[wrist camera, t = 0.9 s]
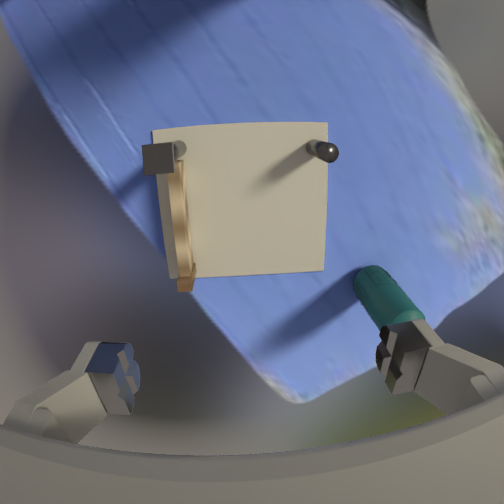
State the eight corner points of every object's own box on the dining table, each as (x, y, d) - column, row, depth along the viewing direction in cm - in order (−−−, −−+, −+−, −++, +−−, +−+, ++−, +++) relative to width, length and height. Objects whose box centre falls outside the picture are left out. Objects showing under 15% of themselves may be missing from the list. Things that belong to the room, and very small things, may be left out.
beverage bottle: (342, 288, 53) (387, 367, 35) (360, 254, 51) (417, 324, 32) (372, 297, 54) (422, 373, 36) (390, 266, 52) (450, 334, 33)
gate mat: (153, 130, 41) (152, 130, 41) (326, 122, 42) (327, 122, 42) (170, 277, 51) (169, 278, 50) (322, 269, 51) (323, 270, 51)
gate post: (166, 138, 42) (141, 145, 30) (189, 136, 42) (171, 142, 30) (168, 160, 43) (144, 175, 32) (190, 158, 43) (174, 172, 32)
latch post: (305, 139, 43) (319, 142, 36) (321, 139, 43) (338, 143, 36) (305, 155, 44) (319, 162, 37) (321, 155, 44) (338, 162, 37)
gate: (171, 160, 43) (162, 166, 37) (185, 159, 43) (178, 165, 37) (183, 272, 49) (177, 291, 44) (196, 272, 49) (192, 291, 44)
